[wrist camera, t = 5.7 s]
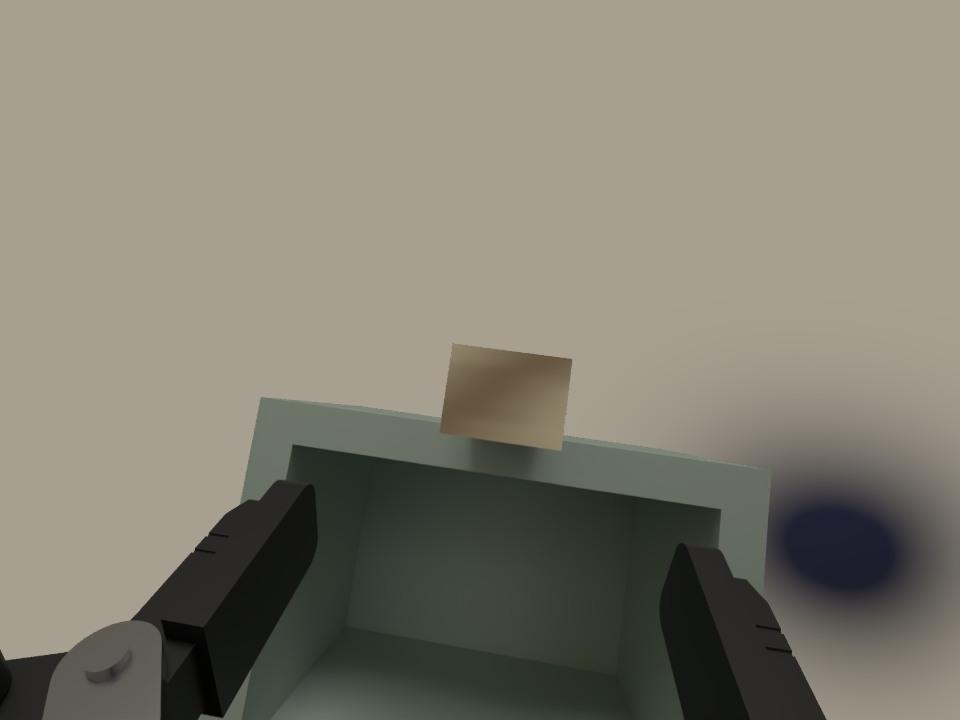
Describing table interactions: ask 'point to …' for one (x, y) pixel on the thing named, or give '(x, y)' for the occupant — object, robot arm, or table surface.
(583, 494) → the tall sage green box
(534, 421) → the slat
